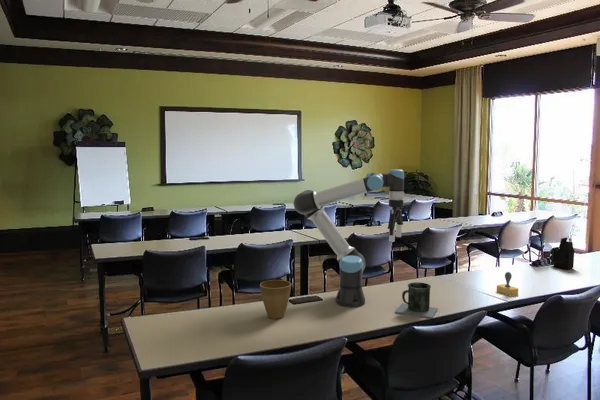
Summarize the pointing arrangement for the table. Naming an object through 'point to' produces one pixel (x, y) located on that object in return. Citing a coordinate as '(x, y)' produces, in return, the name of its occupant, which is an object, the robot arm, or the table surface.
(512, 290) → the rubber stamp
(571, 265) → the camera
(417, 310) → the mug
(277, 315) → the plant pot
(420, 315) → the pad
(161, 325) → the table surface
